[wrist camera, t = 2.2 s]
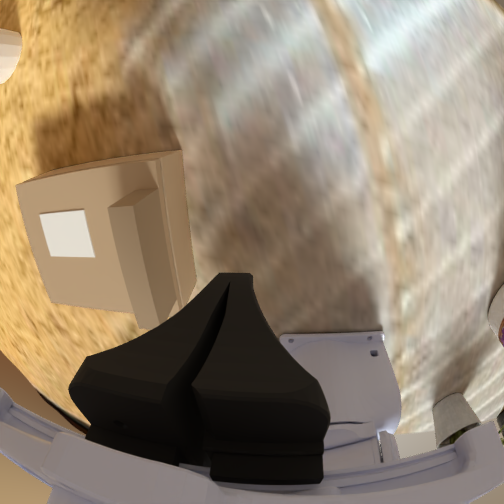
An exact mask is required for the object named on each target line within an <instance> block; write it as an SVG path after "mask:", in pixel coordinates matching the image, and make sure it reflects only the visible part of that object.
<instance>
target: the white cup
mask: <svg viewBox="0 0 504 504" xmlns="http://www.w3.org/2000/svg"><path fill="white" fill-rule="evenodd" d="M21 50H22V37H21V35H20V33H19V32H15V31H10V30H6V29H1V28H0V84H2V83H4V82H5V81H6V80H7V79H8V78H9V77H10V76H11V75H12V73H13V71H14V70H15V68H16V66H17V63H18V61H19V58H20V54H21Z"/></svg>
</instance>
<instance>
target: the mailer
mask: <svg viewBox="0 0 504 504" xmlns="http://www.w3.org/2000/svg"><path fill="white" fill-rule="evenodd" d="M150 159H160V167H161V176H162V185H163V194H164V202H165V209H166V216H167V223H168V230H169V237H170V243H171V249H172V255H173V261H174V267H175V272H176V278H177V283H178V288H179V293H180V299H181V303H182V308H183V307H184V306H186V305H187V302H188V300H189V298H190V296H191V293H192V291H193V289H194V286H195V284H196V282H197V279H196V272H195V265H194V258H193V250H192V243H191V235H190V227H189V218H188V209H187V200H186V190H185V180H184V169H183V157H182V150H173V151H163V152H155V153H146V154H138V155H131V156H124V157H118V158H111V159H105V160H99V161H94V162H88V163H83V164H78V165H73V166H68V167H64V168H59V169H55V170H51V171H49V172H46V173H44V174H41V175H39V176H36V177H34V178H31V179H29V180H27V181H31V180H35V179H39V178H43V177H48V176H52V175H57V174H62V173H67V172H72V171H77V170H82V169H88V168H94V167H100V166H106V165H112V164H119V163H126V162H134V161H142V160H150ZM27 181H24V182H27Z"/></svg>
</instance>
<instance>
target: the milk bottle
mask: <svg viewBox="0 0 504 504" xmlns="http://www.w3.org/2000/svg"><path fill="white" fill-rule="evenodd" d="M488 320H489V325H490V327H491V329H492V330H493V332H494V333H495V335H496V336H497V338H498V339H499V341H500V342H501V344H502V345H503V347H504V284H503V285H502V286H501V288H500V289H499V291H498V292H497V294H496V295H495V297H494V299H493V301H492V303H491V306H490V309H489V313H488Z"/></svg>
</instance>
